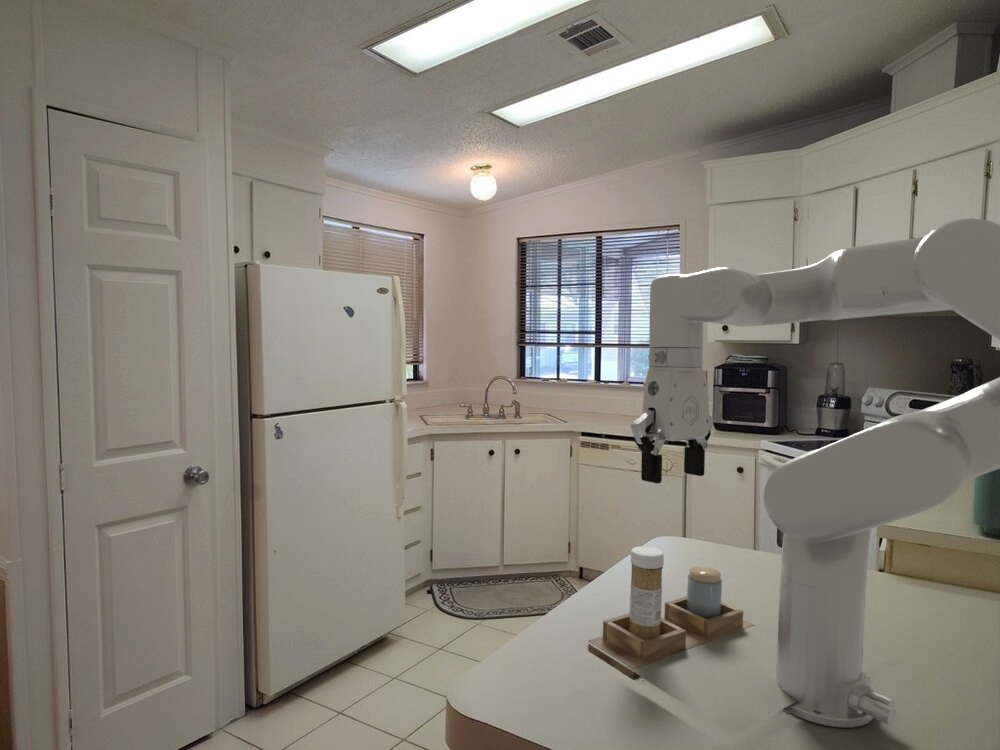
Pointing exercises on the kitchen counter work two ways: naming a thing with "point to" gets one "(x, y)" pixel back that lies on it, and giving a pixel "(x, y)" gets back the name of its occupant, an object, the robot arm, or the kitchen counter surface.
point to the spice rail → (663, 635)
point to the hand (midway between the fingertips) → (673, 478)
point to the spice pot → (704, 592)
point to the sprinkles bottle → (646, 592)
